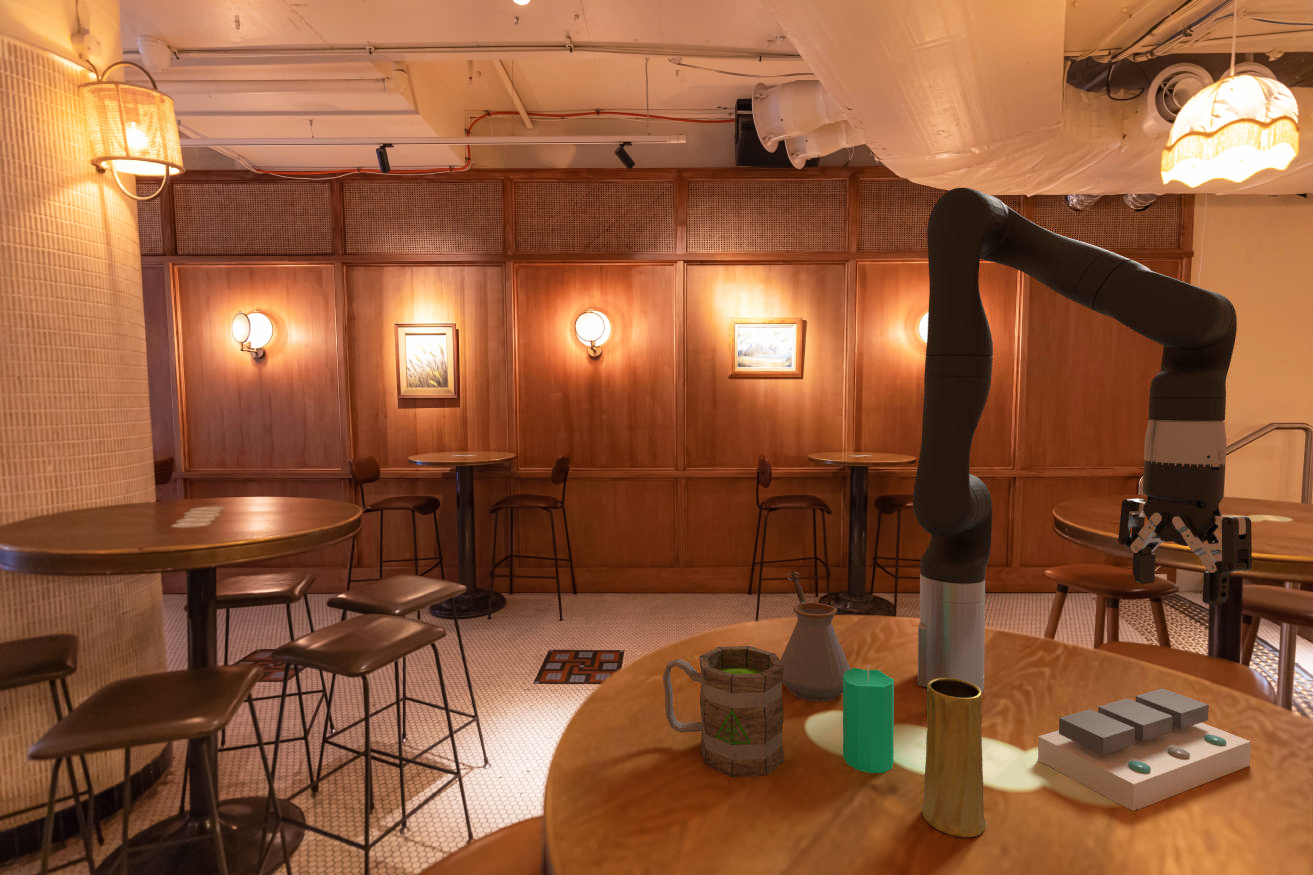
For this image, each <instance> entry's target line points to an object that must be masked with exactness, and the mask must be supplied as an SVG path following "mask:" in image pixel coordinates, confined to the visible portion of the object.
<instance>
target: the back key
mask: <svg viewBox="0 0 1313 875" xmlns="http://www.w3.org/2000/svg"><path fill="white" fill-rule="evenodd" d="M1134 701H1135V702H1138V703H1140V704H1143V705H1145V706H1148V707H1151V708H1153V709H1156V710H1158V711H1161V712H1163V713H1166V714H1169V715H1171V716H1173V722H1172V726H1174V727H1176V728H1179V729H1184V728H1187V727H1190V726H1193V725H1196V724H1199V723H1204V722H1207V721H1209V704H1208V703H1205V702H1202V701H1199V700H1197V699H1194V698H1191V697H1189V696H1185V695H1183V694H1180V693H1177V692H1174V691H1172V690H1169V689H1166V688H1163V687H1162V688H1158V689H1155V690H1152V691H1148V692H1145V693H1141V694H1137V695H1135V700H1134Z"/></svg>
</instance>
